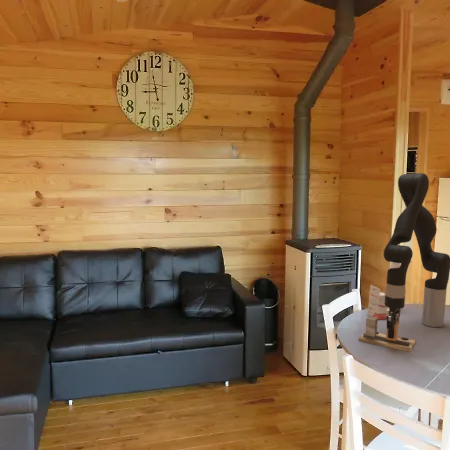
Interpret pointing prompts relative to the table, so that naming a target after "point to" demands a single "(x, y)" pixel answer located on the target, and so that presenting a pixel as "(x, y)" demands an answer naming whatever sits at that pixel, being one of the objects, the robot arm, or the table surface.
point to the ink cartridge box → (377, 303)
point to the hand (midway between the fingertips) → (392, 336)
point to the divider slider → (394, 332)
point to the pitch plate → (384, 337)
